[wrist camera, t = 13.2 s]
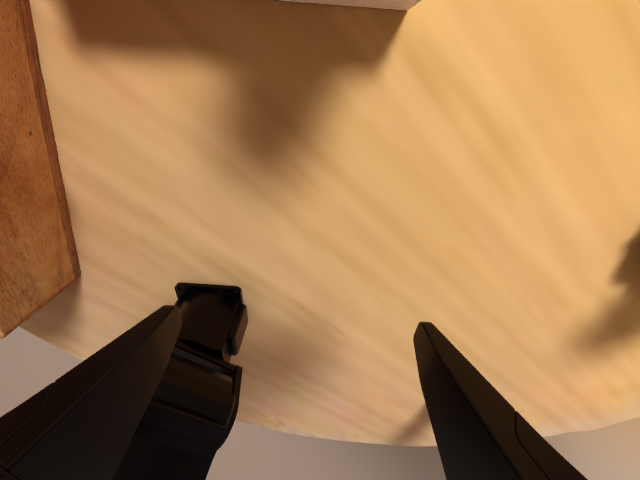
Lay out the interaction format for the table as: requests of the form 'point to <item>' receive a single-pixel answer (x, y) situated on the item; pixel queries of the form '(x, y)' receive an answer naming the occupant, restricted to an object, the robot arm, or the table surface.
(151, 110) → the table surface
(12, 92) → the wooden box
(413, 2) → the white board
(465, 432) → the robot arm
